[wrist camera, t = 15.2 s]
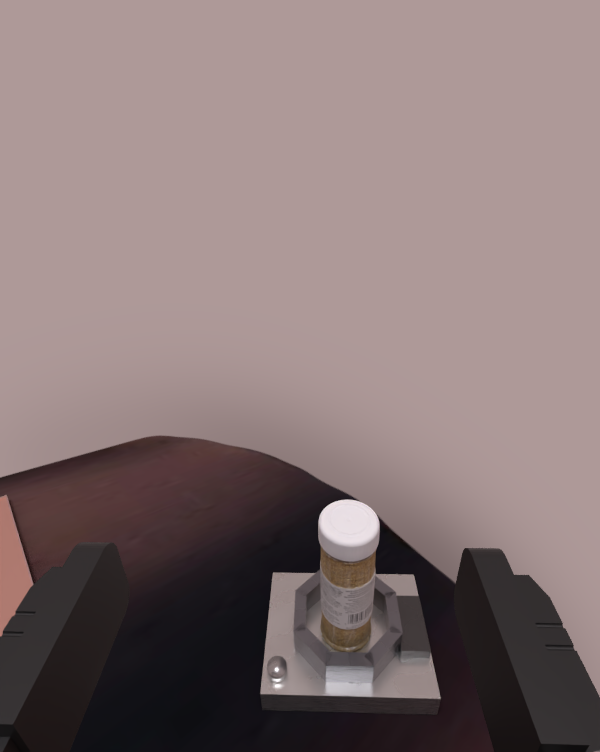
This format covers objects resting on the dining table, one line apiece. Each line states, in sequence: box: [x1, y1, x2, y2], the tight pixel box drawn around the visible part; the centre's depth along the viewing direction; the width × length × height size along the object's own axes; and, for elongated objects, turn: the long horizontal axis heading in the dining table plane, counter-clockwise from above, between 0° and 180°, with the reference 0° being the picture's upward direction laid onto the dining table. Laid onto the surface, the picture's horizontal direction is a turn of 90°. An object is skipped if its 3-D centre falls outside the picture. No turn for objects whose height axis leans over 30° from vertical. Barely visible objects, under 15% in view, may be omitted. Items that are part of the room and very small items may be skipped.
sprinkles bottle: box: [318, 500, 380, 652], centre depth 36 cm, size 5×5×13 cm
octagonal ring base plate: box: [260, 570, 441, 715], centre depth 39 cm, size 14×11×5 cm
